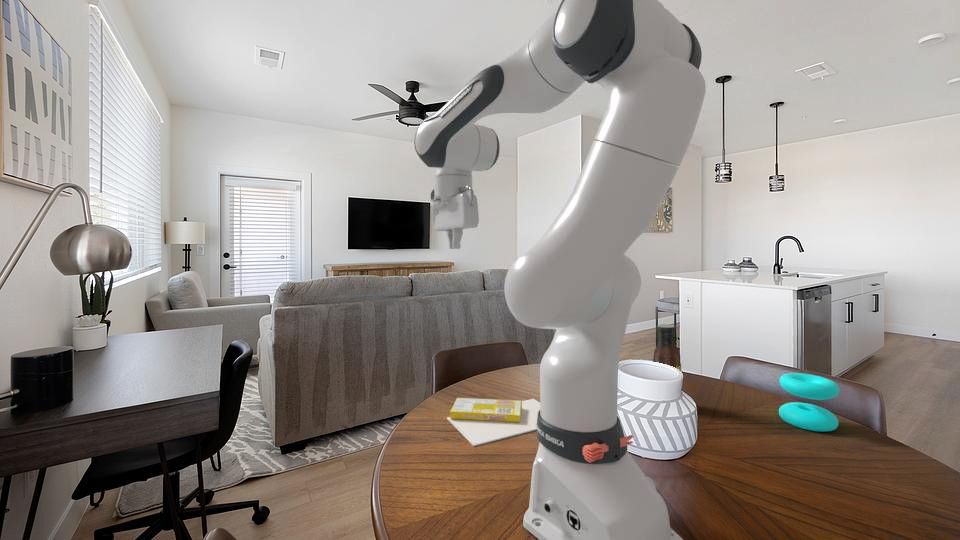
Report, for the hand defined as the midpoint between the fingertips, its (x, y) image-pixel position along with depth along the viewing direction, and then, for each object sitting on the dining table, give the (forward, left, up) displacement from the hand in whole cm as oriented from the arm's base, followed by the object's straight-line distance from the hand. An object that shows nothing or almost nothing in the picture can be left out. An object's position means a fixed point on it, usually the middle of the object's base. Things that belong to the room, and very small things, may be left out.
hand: (454, 248), depth 93 cm
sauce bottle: (-22, -47, -40) cm, 65 cm away
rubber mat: (-11, -8, -39) cm, 41 cm away
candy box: (-3, -7, -38) cm, 39 cm away
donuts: (-43, -65, -40) cm, 87 cm away
